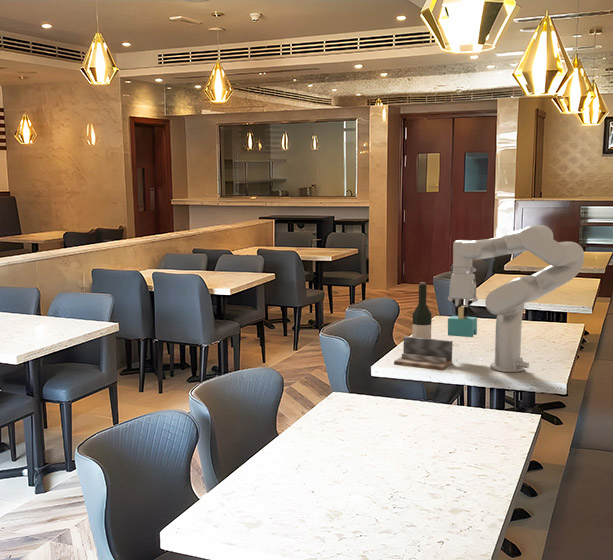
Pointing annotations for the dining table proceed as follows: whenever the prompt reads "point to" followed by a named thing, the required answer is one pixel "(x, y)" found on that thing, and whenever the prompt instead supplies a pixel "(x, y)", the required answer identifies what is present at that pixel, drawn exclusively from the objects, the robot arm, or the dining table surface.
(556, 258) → the robot arm
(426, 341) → the wall board
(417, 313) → the wine bottle
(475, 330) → the teal block
